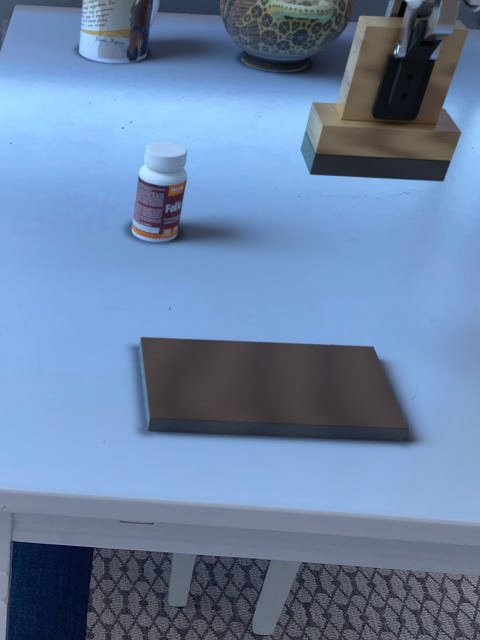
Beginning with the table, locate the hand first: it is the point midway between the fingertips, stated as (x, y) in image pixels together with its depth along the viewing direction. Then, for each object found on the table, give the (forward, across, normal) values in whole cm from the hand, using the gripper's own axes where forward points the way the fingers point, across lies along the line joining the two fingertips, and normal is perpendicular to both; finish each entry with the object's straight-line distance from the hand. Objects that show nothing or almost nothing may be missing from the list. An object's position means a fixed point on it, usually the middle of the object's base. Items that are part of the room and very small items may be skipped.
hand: (388, 108), depth 69 cm
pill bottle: (+19, +20, +14) cm, 31 cm away
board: (+19, -9, +6) cm, 22 cm away
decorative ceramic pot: (+19, +77, -6) cm, 79 cm away
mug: (+19, +78, +16) cm, 82 cm away
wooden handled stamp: (+4, 0, 0) cm, 4 cm away
